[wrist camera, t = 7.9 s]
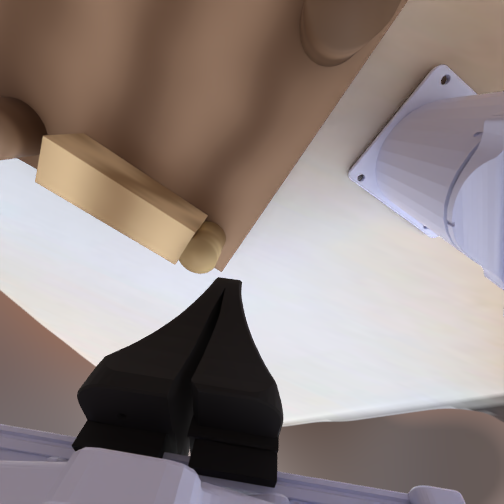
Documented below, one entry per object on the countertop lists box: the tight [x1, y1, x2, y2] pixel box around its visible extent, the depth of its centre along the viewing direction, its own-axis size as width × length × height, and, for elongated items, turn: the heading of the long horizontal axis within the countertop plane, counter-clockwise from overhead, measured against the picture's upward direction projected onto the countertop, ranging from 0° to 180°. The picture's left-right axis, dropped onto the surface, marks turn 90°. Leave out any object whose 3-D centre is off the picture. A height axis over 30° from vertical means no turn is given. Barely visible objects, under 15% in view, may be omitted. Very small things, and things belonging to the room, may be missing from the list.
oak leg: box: [35, 133, 226, 274], centre depth 17 cm, size 12×3×3 cm, turn 55°
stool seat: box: [0, 0, 408, 272], centre depth 14 cm, size 20×20×6 cm
